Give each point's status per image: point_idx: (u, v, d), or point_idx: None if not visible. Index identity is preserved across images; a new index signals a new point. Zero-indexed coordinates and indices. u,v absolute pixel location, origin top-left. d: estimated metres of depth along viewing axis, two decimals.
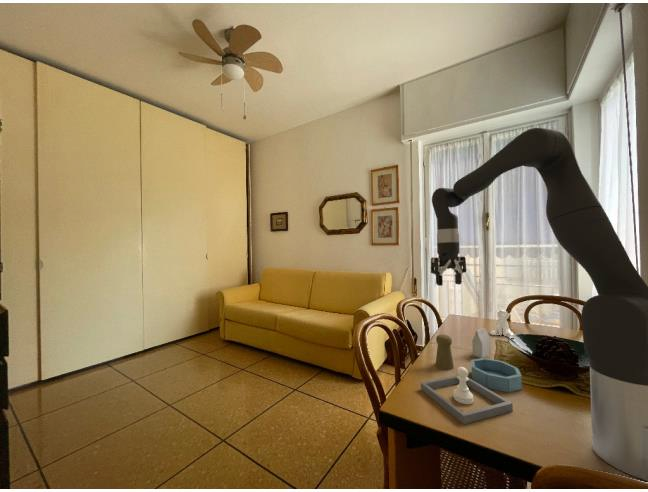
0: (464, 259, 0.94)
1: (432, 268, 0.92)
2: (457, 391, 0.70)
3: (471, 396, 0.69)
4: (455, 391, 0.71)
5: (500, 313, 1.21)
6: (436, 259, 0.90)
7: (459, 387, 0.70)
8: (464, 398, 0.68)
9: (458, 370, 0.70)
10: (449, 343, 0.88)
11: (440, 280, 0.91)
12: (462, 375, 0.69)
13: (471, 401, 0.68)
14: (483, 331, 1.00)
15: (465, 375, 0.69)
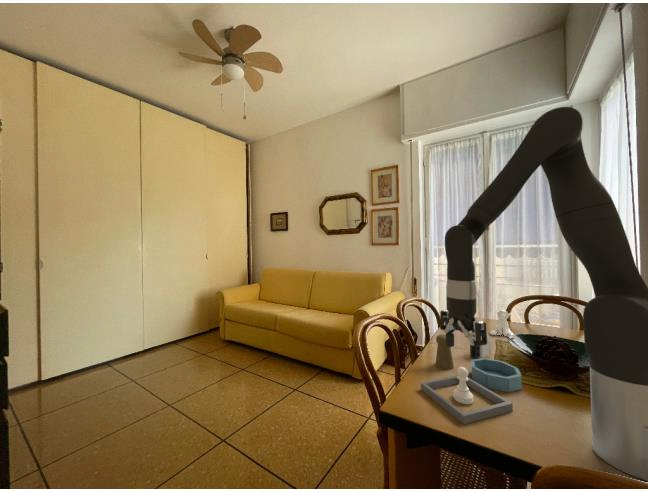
0: None
1: None
2: (457, 391, 0.70)
3: (471, 396, 0.69)
4: (455, 391, 0.71)
5: (500, 313, 1.21)
6: None
7: (459, 387, 0.70)
8: (464, 398, 0.68)
9: (458, 370, 0.70)
10: None
11: None
12: (462, 375, 0.69)
13: (471, 401, 0.68)
14: None
15: (465, 375, 0.69)
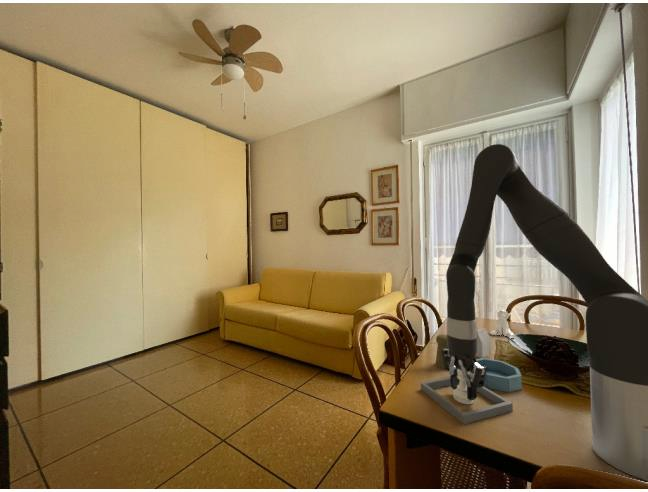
0: None
1: None
2: (457, 391, 0.70)
3: None
4: (455, 391, 0.71)
5: (500, 313, 1.21)
6: None
7: (459, 387, 0.70)
8: (464, 398, 0.68)
9: (458, 370, 0.70)
10: None
11: None
12: (462, 375, 0.69)
13: (471, 401, 0.68)
14: (483, 331, 1.00)
15: None
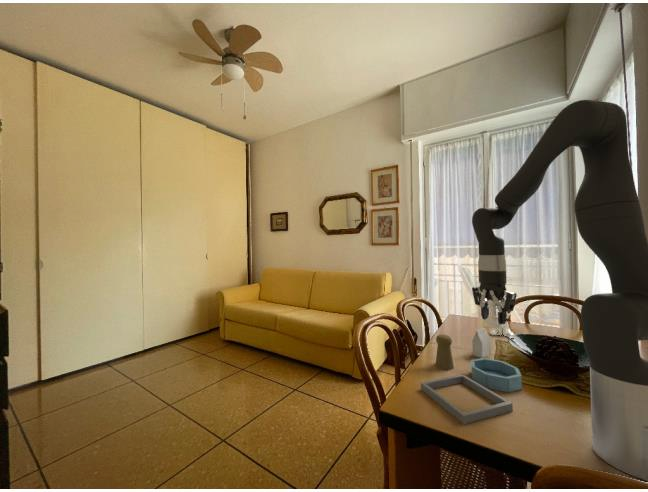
0: None
1: None
2: (489, 319, 0.80)
3: None
4: (486, 319, 0.81)
5: None
6: None
7: (490, 315, 0.80)
8: (496, 323, 0.78)
9: (489, 301, 0.80)
10: (449, 343, 0.88)
11: None
12: (493, 304, 0.79)
13: (501, 326, 0.78)
14: (483, 331, 1.00)
15: None
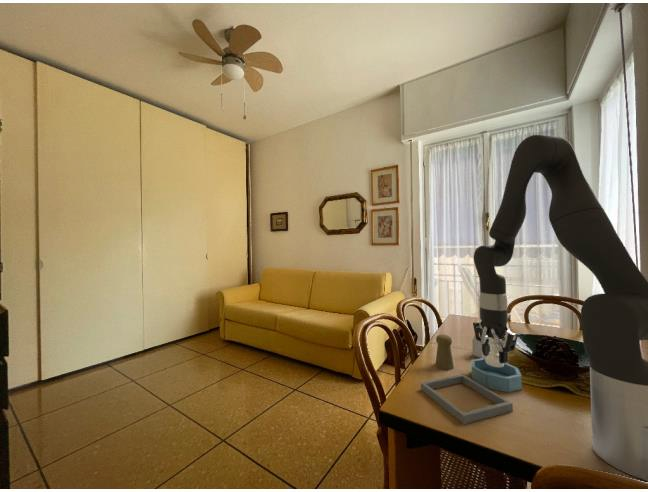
0: None
1: None
2: (490, 357, 0.80)
3: None
4: (487, 357, 0.81)
5: None
6: None
7: (491, 353, 0.80)
8: (496, 362, 0.78)
9: (490, 338, 0.80)
10: (449, 343, 0.88)
11: None
12: (494, 342, 0.79)
13: (502, 364, 0.78)
14: None
15: None
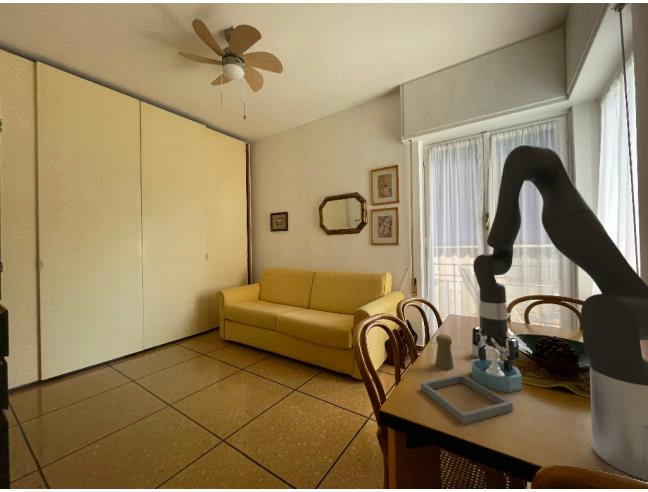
0: None
1: None
2: (490, 370, 0.80)
3: (503, 374, 0.78)
4: (488, 370, 0.81)
5: None
6: None
7: (491, 367, 0.80)
8: None
9: (490, 352, 0.80)
10: (449, 343, 0.88)
11: None
12: (494, 356, 0.79)
13: None
14: None
15: (497, 356, 0.79)
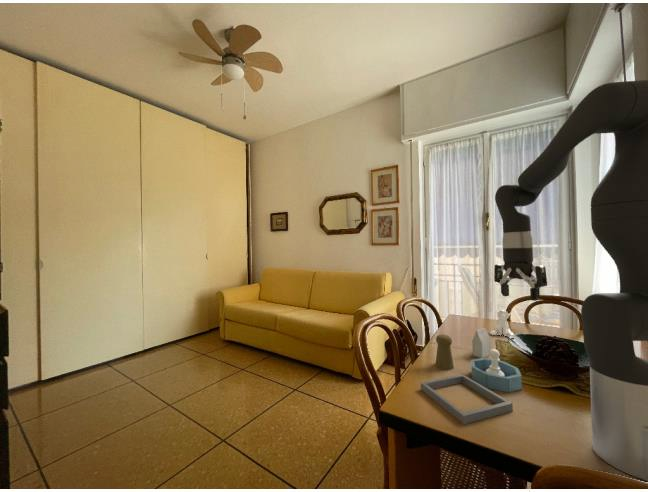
0: None
1: None
2: (490, 370, 0.80)
3: (503, 374, 0.78)
4: (488, 370, 0.81)
5: (500, 313, 1.21)
6: None
7: (491, 367, 0.80)
8: None
9: (490, 352, 0.80)
10: (449, 343, 0.88)
11: None
12: (494, 356, 0.79)
13: None
14: (483, 331, 1.00)
15: (497, 356, 0.79)
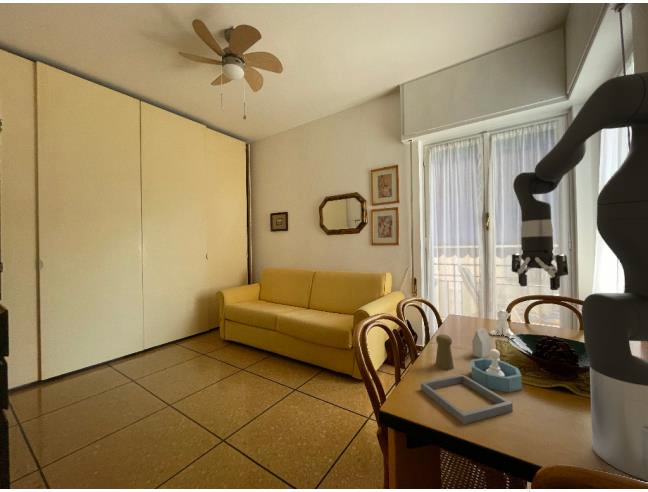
0: None
1: None
2: (490, 370, 0.80)
3: (503, 374, 0.78)
4: (488, 370, 0.81)
5: (500, 313, 1.21)
6: None
7: (491, 366, 0.80)
8: None
9: (491, 352, 0.80)
10: (449, 343, 0.88)
11: None
12: (494, 356, 0.79)
13: None
14: (483, 331, 1.00)
15: (497, 356, 0.79)
